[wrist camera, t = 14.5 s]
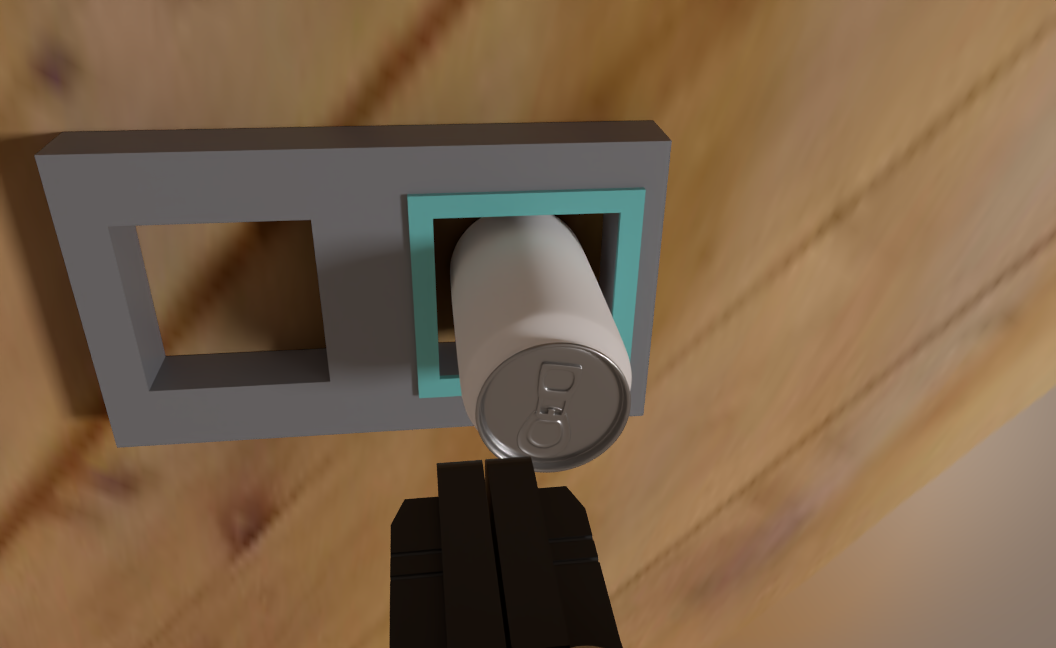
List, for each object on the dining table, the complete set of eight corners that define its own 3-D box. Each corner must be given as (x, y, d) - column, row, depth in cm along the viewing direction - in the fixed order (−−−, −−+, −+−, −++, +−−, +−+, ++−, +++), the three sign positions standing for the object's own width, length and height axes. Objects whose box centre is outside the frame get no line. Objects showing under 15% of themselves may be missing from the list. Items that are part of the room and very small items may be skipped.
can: (439, 316, 41) (450, 476, 31) (460, 193, 38) (479, 322, 28) (566, 331, 42) (618, 488, 32) (596, 212, 39) (663, 343, 29)
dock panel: (62, 131, 35) (31, 157, 32) (653, 120, 37) (673, 143, 35) (135, 410, 41) (115, 451, 39) (629, 382, 44) (644, 418, 42)
